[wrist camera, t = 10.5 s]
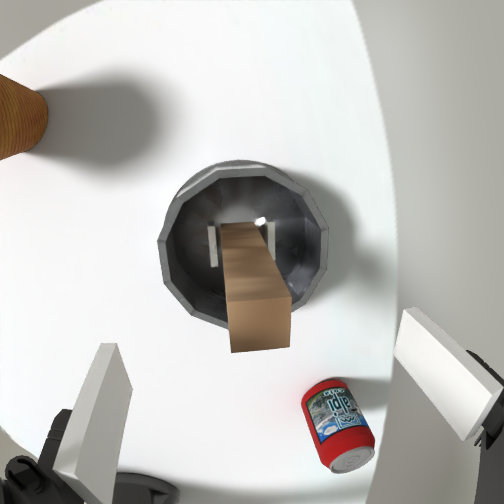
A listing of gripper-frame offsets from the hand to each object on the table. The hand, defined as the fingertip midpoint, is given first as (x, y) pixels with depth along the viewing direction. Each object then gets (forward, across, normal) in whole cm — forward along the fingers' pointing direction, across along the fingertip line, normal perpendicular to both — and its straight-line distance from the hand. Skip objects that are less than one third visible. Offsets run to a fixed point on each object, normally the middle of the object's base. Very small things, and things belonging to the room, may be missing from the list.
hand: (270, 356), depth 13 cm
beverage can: (+17, +10, -22) cm, 30 cm away
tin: (+17, 0, 0) cm, 17 cm away
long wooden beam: (+16, 0, 0) cm, 16 cm away
